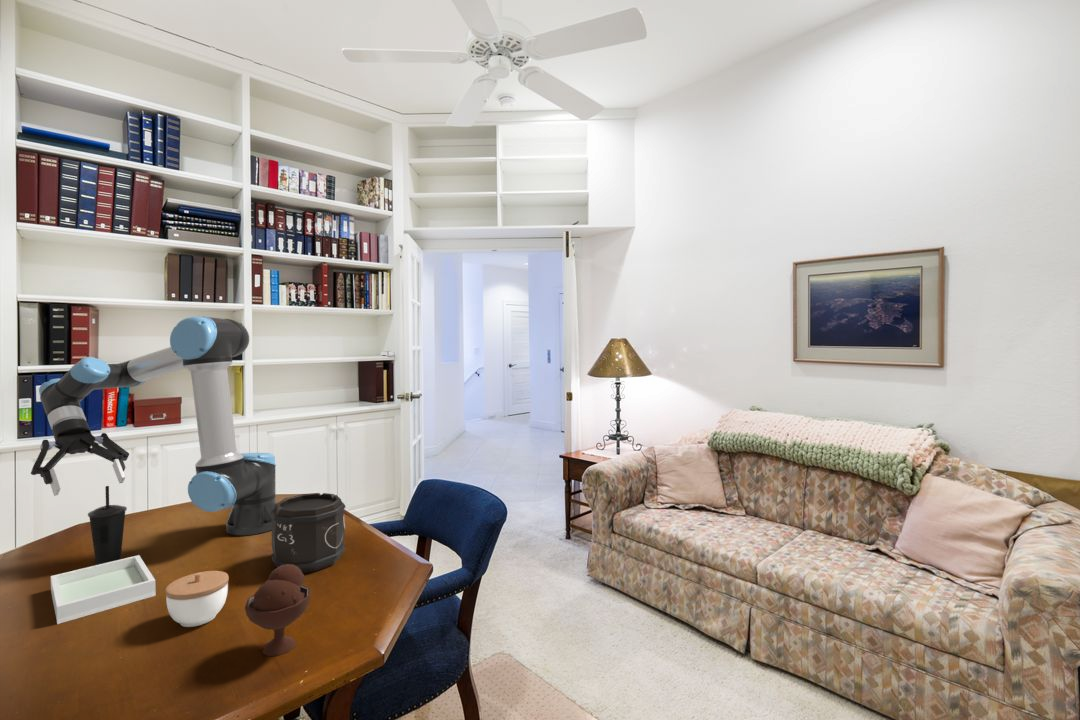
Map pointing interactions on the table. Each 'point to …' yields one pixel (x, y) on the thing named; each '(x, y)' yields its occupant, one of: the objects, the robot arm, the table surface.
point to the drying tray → (100, 588)
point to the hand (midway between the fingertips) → (91, 486)
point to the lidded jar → (197, 597)
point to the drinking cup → (107, 531)
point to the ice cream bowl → (279, 606)
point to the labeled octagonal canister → (308, 531)
